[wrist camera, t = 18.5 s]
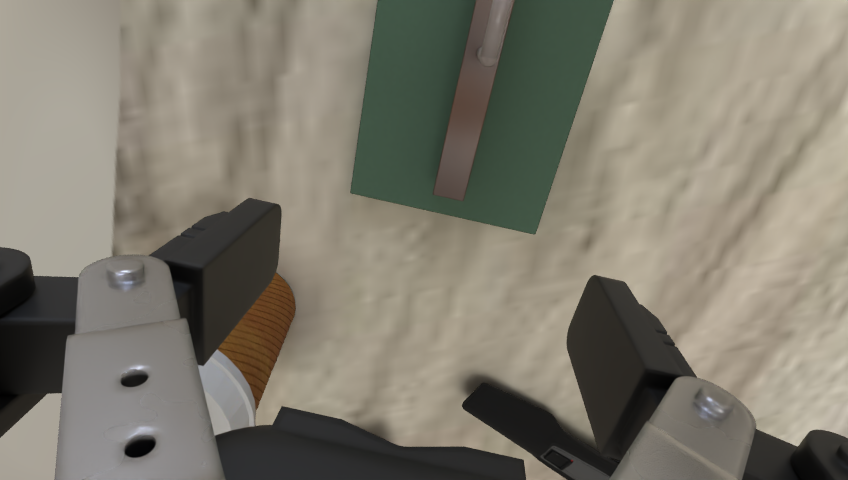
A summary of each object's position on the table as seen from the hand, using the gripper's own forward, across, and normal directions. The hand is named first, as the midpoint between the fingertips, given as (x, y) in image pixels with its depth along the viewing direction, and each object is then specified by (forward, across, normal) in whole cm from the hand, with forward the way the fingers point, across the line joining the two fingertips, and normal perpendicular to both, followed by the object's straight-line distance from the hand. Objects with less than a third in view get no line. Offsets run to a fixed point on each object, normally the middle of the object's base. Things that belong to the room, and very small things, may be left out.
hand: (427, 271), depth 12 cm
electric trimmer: (+17, -12, +21) cm, 30 cm away
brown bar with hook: (+17, 0, -6) cm, 18 cm away
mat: (+17, 0, -6) cm, 18 cm away
